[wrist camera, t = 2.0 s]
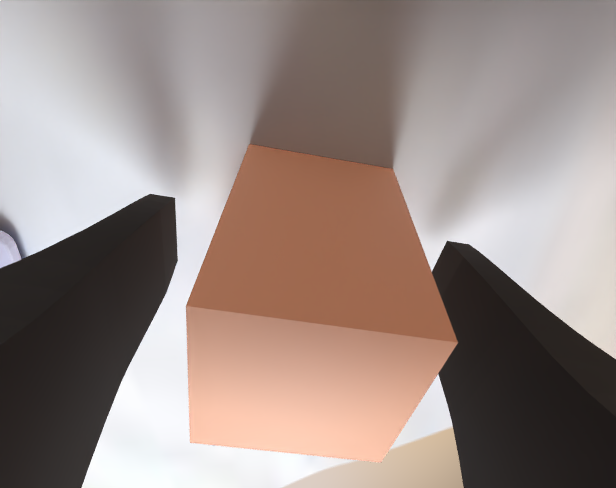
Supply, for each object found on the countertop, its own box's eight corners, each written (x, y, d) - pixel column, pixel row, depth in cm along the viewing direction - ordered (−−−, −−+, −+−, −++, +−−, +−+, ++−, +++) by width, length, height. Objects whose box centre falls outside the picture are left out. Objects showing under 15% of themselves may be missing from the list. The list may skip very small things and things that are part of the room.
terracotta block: (239, 257, 12) (190, 442, 8) (249, 143, 10) (186, 305, 5) (356, 275, 13) (381, 462, 8) (392, 168, 10) (457, 342, 6)
